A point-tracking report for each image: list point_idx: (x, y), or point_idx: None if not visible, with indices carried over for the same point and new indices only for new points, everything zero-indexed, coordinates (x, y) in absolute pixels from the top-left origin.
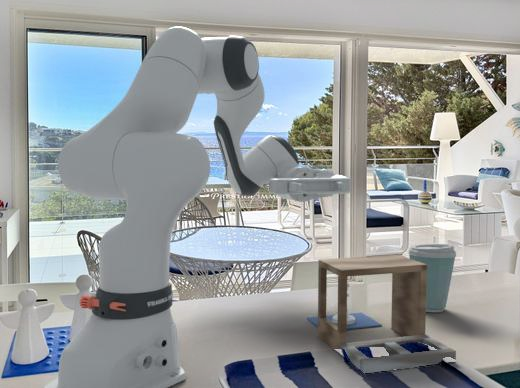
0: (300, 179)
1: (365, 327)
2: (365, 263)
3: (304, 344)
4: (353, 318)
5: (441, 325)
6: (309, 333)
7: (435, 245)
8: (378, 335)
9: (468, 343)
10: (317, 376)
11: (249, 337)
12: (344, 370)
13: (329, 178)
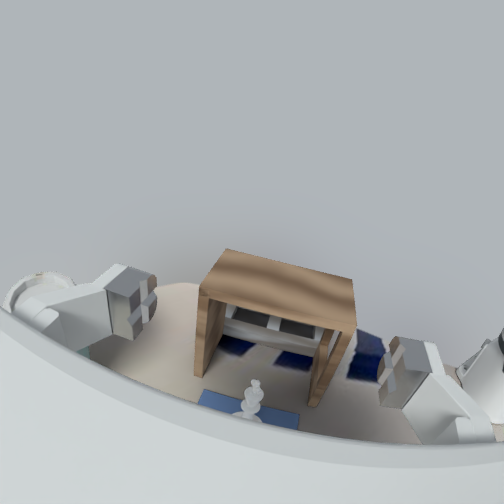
0: (417, 445)
1: (231, 398)
2: (299, 282)
3: (343, 395)
4: (235, 413)
5: (134, 347)
6: (320, 421)
7: (10, 305)
8: (238, 373)
9: (173, 311)
10: (360, 338)
11: (399, 438)
12: (334, 336)
13: (41, 345)
